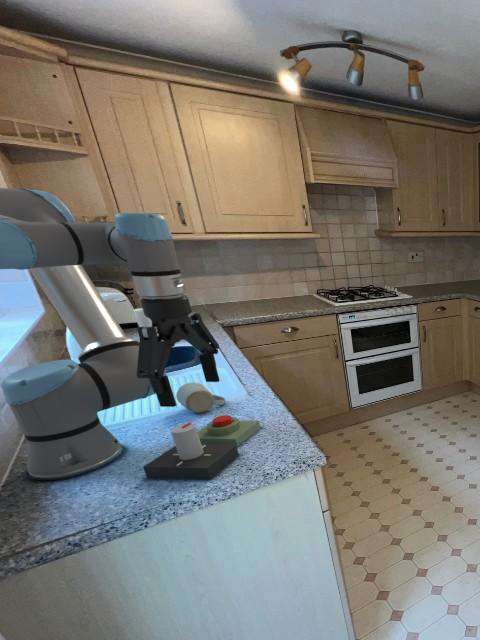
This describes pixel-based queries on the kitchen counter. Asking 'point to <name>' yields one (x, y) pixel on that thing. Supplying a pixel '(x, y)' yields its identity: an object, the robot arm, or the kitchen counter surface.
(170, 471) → the panel
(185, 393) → the ceramic mug
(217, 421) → the power button
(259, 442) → the kitchen counter surface
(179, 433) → the timer dial
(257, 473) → the kitchen counter surface
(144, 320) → the drinking glass
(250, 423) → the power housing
